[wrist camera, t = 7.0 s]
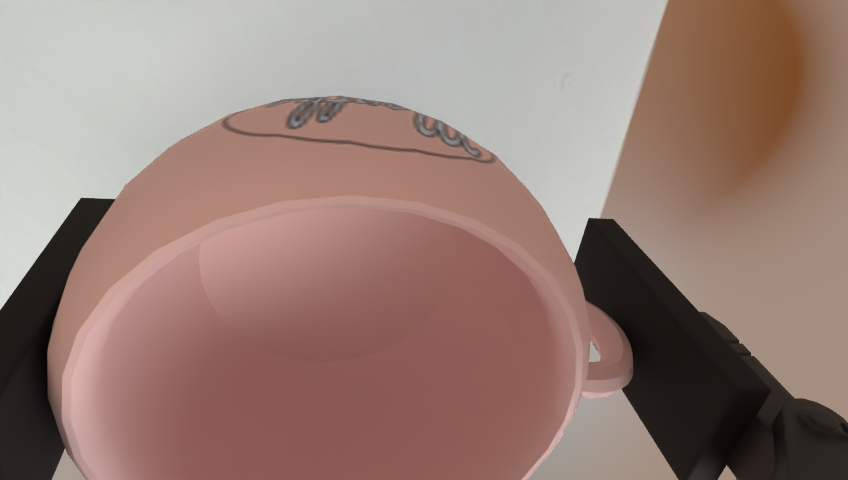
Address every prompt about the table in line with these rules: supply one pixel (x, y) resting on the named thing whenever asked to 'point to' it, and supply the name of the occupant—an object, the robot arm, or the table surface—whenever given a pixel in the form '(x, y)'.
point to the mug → (325, 309)
